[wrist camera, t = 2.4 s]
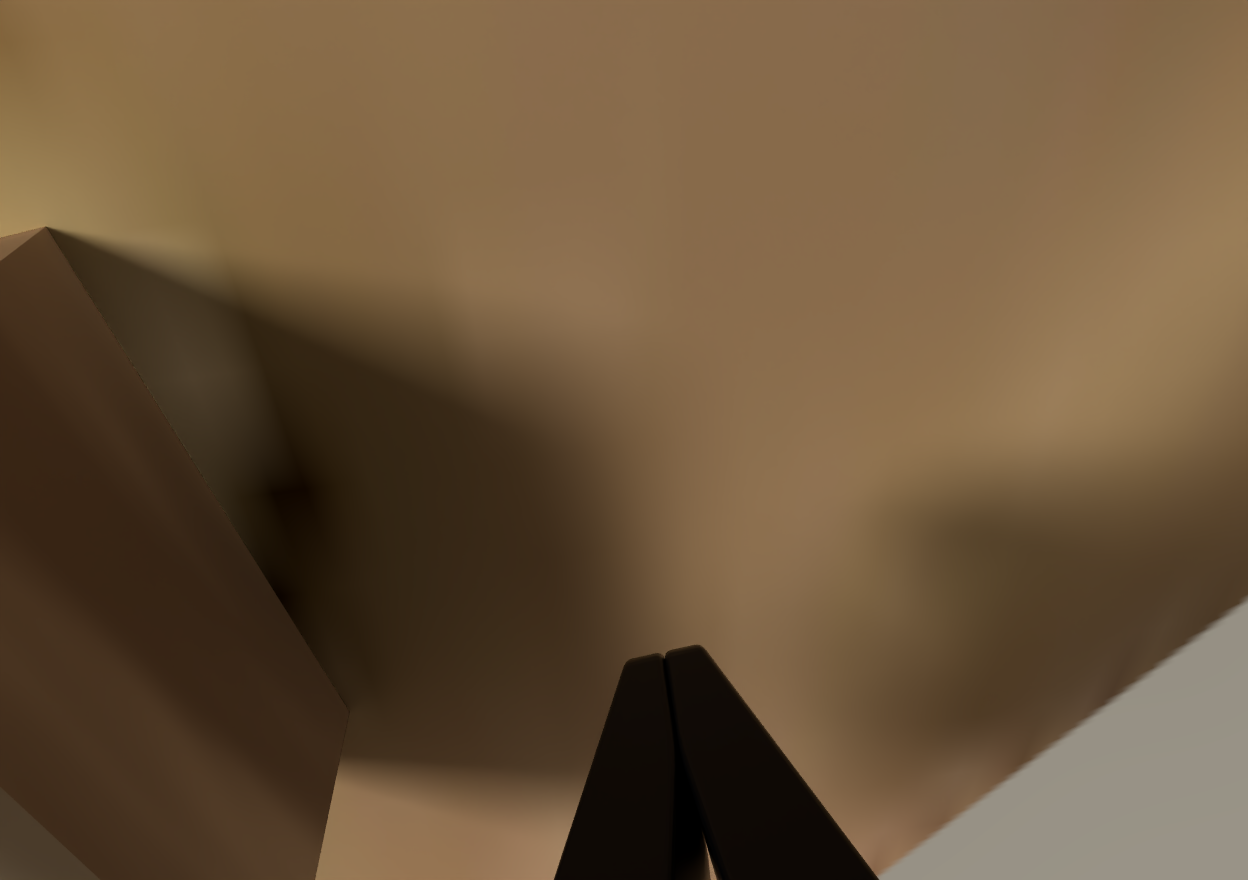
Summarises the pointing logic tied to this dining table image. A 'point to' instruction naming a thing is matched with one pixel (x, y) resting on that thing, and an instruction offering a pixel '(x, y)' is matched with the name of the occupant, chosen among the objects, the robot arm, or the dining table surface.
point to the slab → (136, 628)
